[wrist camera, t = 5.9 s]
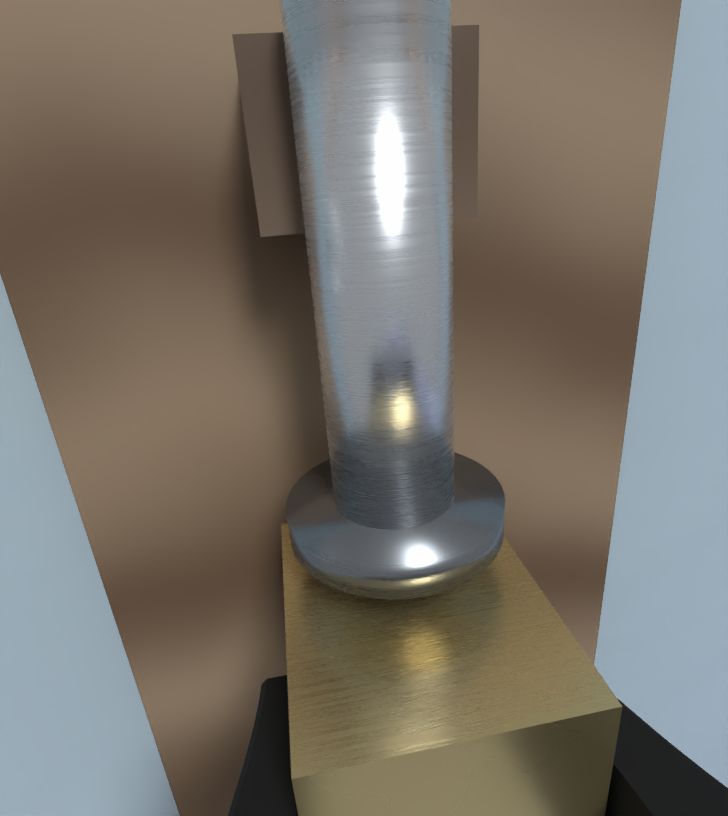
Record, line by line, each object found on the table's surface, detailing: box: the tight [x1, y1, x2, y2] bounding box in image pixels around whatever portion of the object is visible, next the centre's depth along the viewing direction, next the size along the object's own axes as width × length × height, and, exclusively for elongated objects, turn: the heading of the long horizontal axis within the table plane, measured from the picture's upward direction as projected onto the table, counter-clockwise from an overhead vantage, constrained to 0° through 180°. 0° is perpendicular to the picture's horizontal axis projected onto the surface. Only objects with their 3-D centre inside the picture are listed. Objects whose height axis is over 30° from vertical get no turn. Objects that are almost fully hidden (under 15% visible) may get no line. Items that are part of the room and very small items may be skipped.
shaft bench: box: [0, 0, 682, 816], centre depth 12 cm, size 24×12×3 cm, turn 4°
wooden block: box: [281, 523, 622, 816], centre depth 9 cm, size 5×4×5 cm
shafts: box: [280, 0, 505, 599], centre depth 10 cm, size 22×4×4 cm, turn 4°
